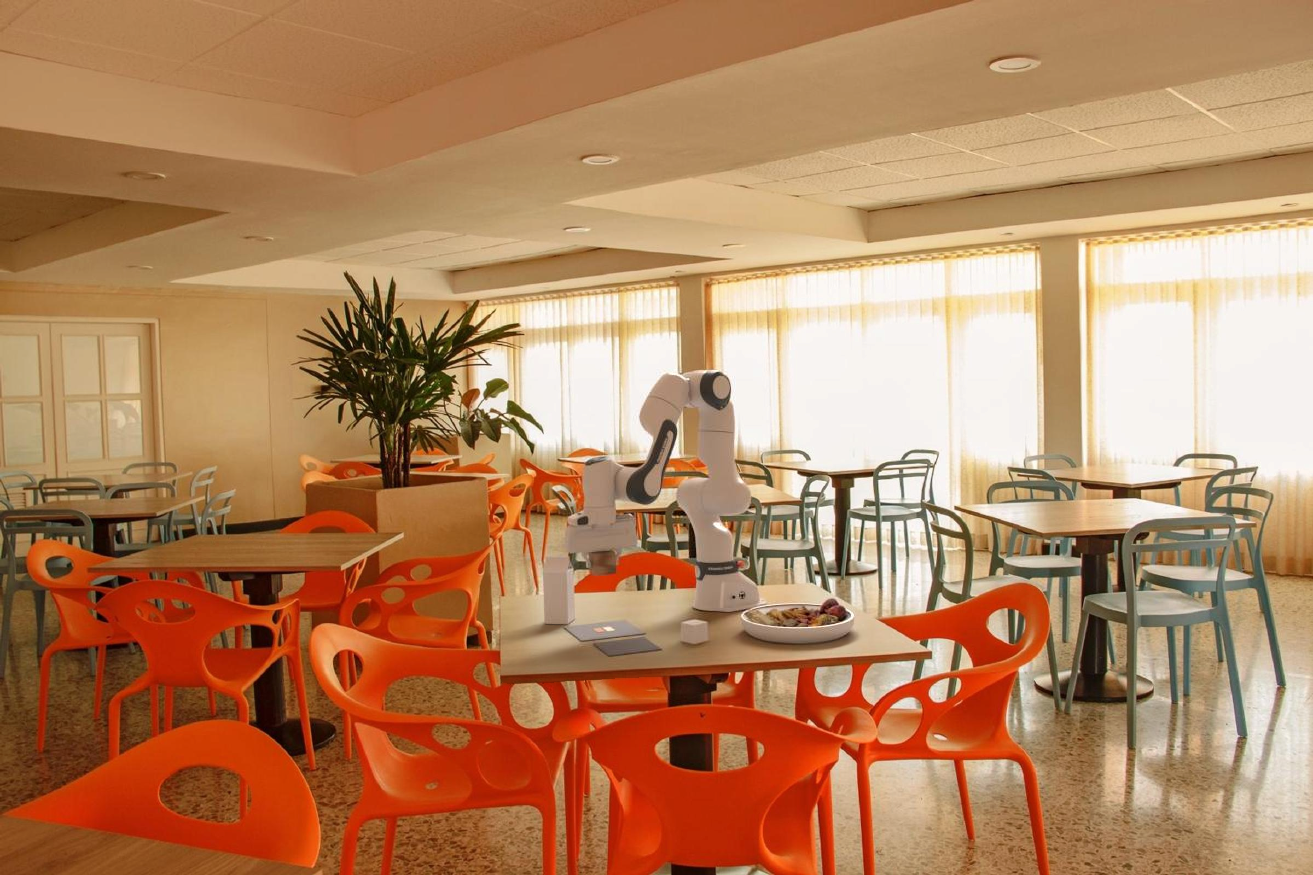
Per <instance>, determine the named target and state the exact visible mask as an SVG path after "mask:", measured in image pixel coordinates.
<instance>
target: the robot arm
mask: <svg viewBox="0 0 1313 875" xmlns="http://www.w3.org/2000/svg"><path fill="white" fill-rule="evenodd" d="M731 395H732V384H731V381H730V378H729V376H728V375H727V374H726V373H725V372H724V371H722V370H718V369H708V370H707V369H699V370H698V369H697V370H694V371H689V372H688V371H687V372H681V373H675V372H666V373H664V374H663V375H661V376H660V377H659V379H658V380H657V382H656V383H655V384H654V385H653V387H652V388H651V390H650V392H649V393H648V395H647V396H646V398H645V400H644V402H643V404H642V406H641V408H640V411H639V415H638V418H639V423H640V425H641V427H642V429H643V430H644V431H646V433H647V434H649V435H650V436H652V438H653V439H652V443H651V446H650V449H649V451H648V454H647V456H646V459H645V461H644V463H643V464H642V465H640V466H638V467H634V466H633V467H631V466H625V465H622V464H619V463H617V462H616V461H614V460H612V458H611V457H610V456H607V455H606V456H604V455H602V456H596V457H592V458H590V459H588V460H586V461H585V462H584V465H583V467H582V479H581V480H582V481H581V482H582V493H583V495H584V497H583V498H584V501H583V509H582V510H581V511H579V512H576V513H574V514H571V515H570V516H568V517H567V518H566V519H567V523H568V526H567V527H566V528H565V531H564V550H565V552H567V553H568V554H576V553H580V554H581V557H582V558H583V559H584V562H585V567H586V569H589V568H592V567H593V565H592V564H593V561H591V560H590V561H589V556H588V552H589V551H599V550H609V549H610V550H614V551H615V552H616V566H619V565H620V564H619V563H620V562H619V559H620V557H621V554H622V553H623V549H625V548H626V549H627V548H636V546H637V544H638V535H637V530H636V527H637V518H636V517H635V515H633V514H631V513H626V514H621V513H620V514H617V510H616V508H617V507H616V501H620V502H621V501H622V502H626V503H635V504H639V505H644V506H645V505H646V506H649V505H650V504H652V503H654V502H655V501H656V500H657V499H658V497H659V496H660V495H661V492H662V488H663V481H664V476H665V474H666V473H665V472H666V470H667V467H668V464H669V461H670V458H671V455H672V452H673V451H674V450H673V449H674V447H675V445H676V441H677V438H678V427H677V424H678V422H679V419H680V418H681V415H682V412H684V409H686V408H689V409H690V408H692V409H697V410H698V413H699V420H698V428H697V429H698V430H697V450H696V452H697V453H696V454H697V455H696V456H697V458H698V460H699V461H700V462H701V463H702V464H703V465H704V466H705V467H706V470H707V472H708V477H693V478H689V479H684V480H682V481H681V482H680V483H679V484H678V486H677V488H676V492H675V499H676V502H677V505H678V507H679V508H681V510H682V511H683V512H685V514H686V516H687V517H688V519H689V521H690V524H691V527H692V528H693V532H694V537H695V548H696V560H695V565H694V568H695V569H694V570H695V571H694V573H695V578H696V585H695V595H694V599H693V600H694V601H693V604H692V607H693V608H694V609H695V610H696V609H697V610H698V611H699V610H701V611H707V612H708V611H709V612H723V613H731V612H736V611H742V610H749V609H752V608H756V607H760V606H766V605H768V602H767V600H766V599H765V598H763V597H760V592H759V589H758V586H757V584H756V583H755V582H754V581H753V580H752V579H751V578H749V577H748V576H747V575H745V574H744V573H743V572H741V571H740V569H744V568H745V566H746V563H745V561H742V560H737V559H735V558H734V545H733V541H734V540H733V533H732V532H731V531H730V529H728V528H727V527H726V526H725V524H723V522H722V520H721V518H720V516H728V517H729V516H736V515H741V514H744V513H745V512H746V511H747V510H748V509H749V508H750V505H751V502H752V492H751V490H750V487H749V485H748V484H747V483H746V482H745V481H744V480H743V479H742V478H741V476H740V474H739V471H738V468H737V465H736V461H735V434H736V433H735V432H736V422H735V410H734V405H733V403H732V400H730V399H731ZM739 568H740V569H739Z"/></svg>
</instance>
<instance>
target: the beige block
mask: <svg viewBox="0 0 1313 875" xmlns="http://www.w3.org/2000/svg"><path fill="white" fill-rule="evenodd" d="M708 625H709V622H708V621H704V620H700V619H699V620H698V619H695V618H694V619H690V620H689V619H688V620H686V621H681V622H680V641H681V642H683V643H688V644H691V645H697V644H700V643H704V642H705V643H706V642H708V641H709V628H708V627H709V626H708Z"/></svg>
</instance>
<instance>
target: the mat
mask: <svg viewBox="0 0 1313 875" xmlns="http://www.w3.org/2000/svg"><path fill="white" fill-rule="evenodd" d="M592 644H593V646H594V647H596V648H597V649H599V650H600V651H601V652H603V653H604V654H605V655H607V656H608V657H616V656H617V657H618V656H624V655H632V654H641V653H648V652H656V651H657V652H658V651H662V650H663V648H661V647H660V646H658V645H657V644H655V643H654V642H652V641H650V640H649V639H647V638H646V637H645V636H641V637H633V638H632V637H631V638H624V639H617V640H616V639H615V640H607V641H600V642H599V641H598V642H592Z"/></svg>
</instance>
